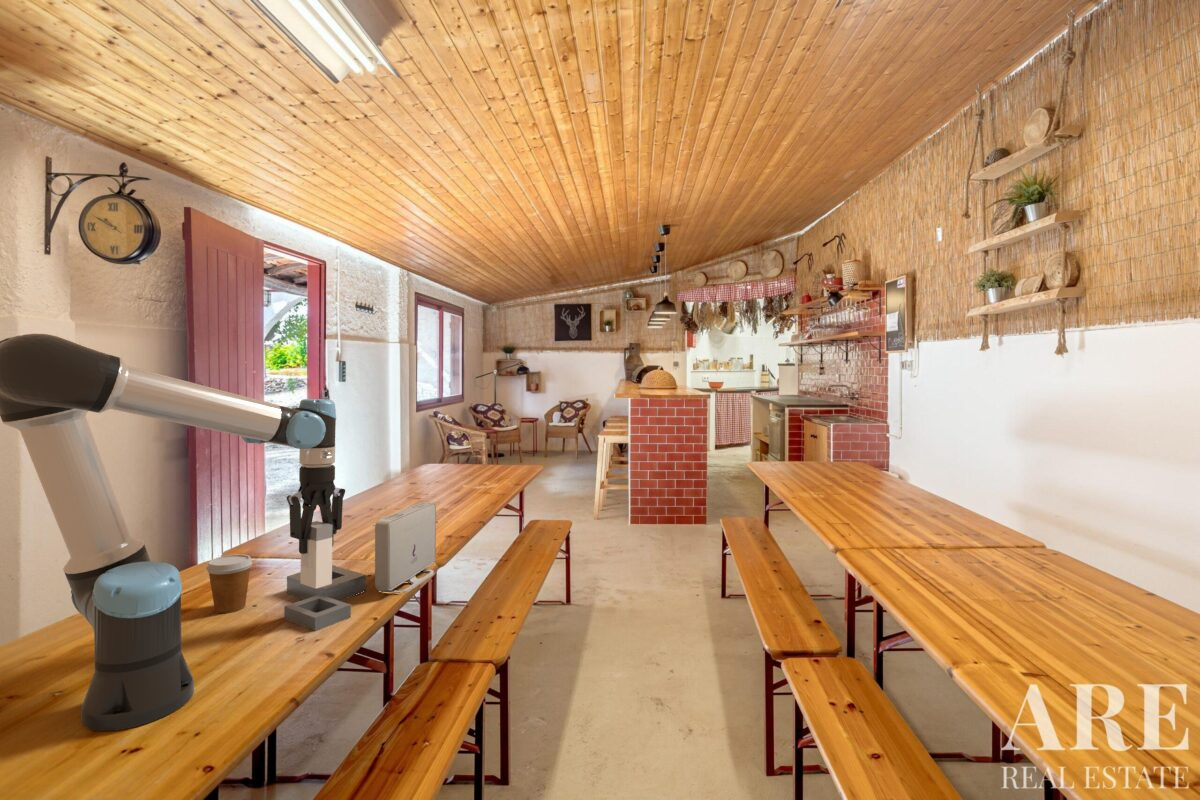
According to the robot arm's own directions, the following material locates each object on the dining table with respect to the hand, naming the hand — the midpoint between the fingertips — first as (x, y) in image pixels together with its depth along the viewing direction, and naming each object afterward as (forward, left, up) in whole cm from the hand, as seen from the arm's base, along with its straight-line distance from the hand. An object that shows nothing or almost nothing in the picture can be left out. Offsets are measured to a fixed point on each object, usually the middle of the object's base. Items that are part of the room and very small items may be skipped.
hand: (316, 563), depth 135 cm
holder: (0, 0, -13) cm, 13 cm away
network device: (+28, +2, -13) cm, 31 cm away
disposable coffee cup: (-8, +23, -13) cm, 28 cm away
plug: (0, 0, -5) cm, 5 cm away
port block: (+11, +13, -13) cm, 22 cm away
